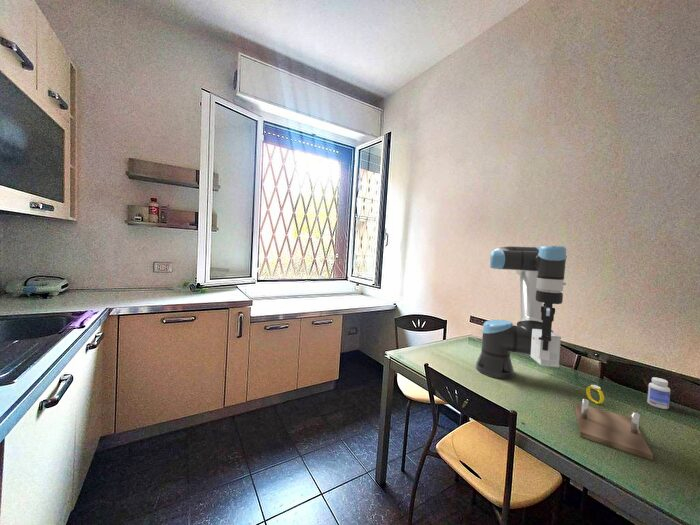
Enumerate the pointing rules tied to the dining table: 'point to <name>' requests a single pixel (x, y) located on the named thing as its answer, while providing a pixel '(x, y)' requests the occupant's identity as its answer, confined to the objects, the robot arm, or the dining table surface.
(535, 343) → the small box
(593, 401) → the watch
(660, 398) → the pill bottle
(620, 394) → the dining table surface
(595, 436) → the pin tray
